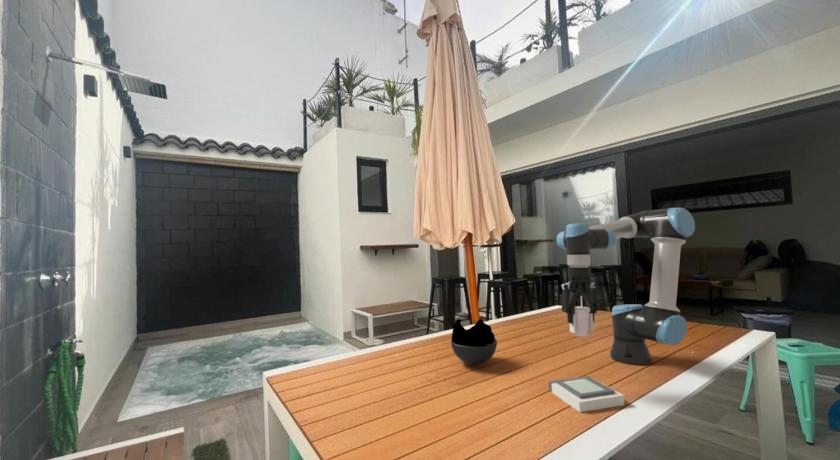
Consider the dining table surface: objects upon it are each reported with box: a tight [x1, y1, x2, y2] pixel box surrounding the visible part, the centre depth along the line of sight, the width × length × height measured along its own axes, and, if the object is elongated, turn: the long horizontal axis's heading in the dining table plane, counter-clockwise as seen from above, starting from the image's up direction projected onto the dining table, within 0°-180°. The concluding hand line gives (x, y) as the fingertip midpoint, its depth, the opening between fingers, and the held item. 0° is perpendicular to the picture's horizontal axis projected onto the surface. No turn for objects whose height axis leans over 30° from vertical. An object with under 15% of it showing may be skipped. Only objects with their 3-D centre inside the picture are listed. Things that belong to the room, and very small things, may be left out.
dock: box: [548, 375, 625, 413], centre depth 112 cm, size 16×16×4 cm
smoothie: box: [573, 295, 590, 338], centre depth 120 cm, size 6×6×14 cm
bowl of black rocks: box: [450, 318, 498, 366], centre depth 148 cm, size 20×20×19 cm
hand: (581, 331), depth 120 cm, fingers closed on smoothie, 6 cm apart
